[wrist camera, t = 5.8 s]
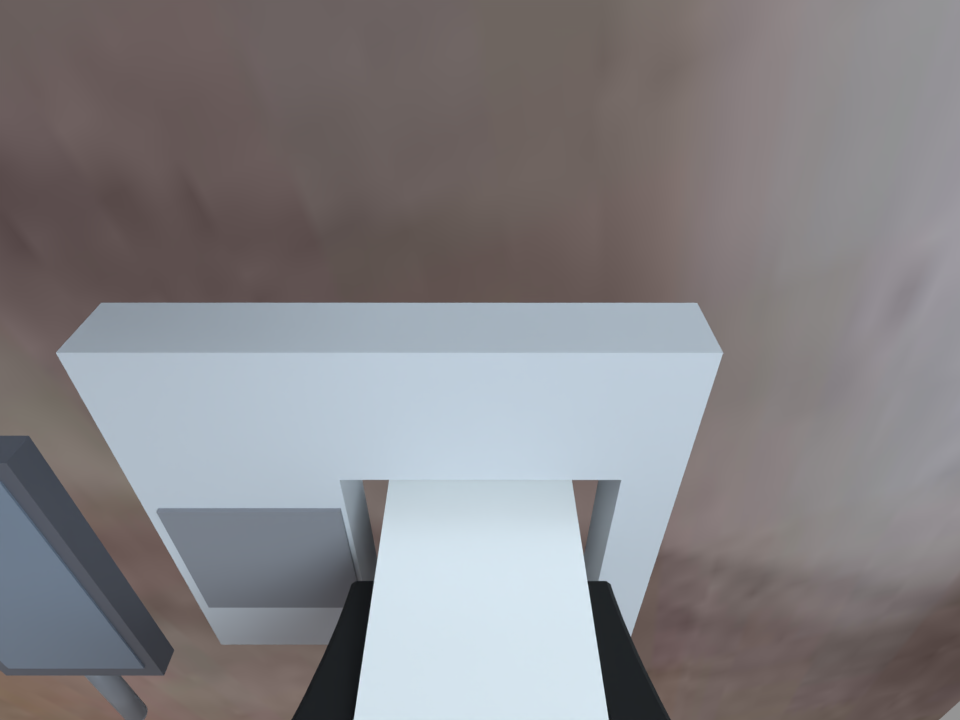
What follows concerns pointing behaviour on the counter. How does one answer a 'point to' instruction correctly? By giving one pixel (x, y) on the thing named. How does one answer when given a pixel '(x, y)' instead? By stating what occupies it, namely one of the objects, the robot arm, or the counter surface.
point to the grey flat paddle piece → (66, 590)
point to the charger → (480, 606)
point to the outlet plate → (383, 431)
